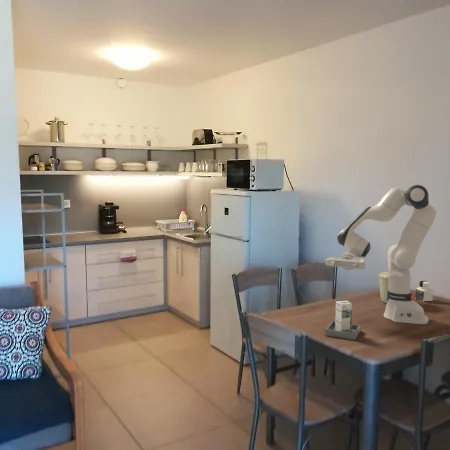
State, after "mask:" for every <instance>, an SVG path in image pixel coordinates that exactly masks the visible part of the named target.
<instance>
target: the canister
mask: <svg viewBox="0 0 450 450" xmlns="http://www.w3.org/2000/svg"><path fill="white" fill-rule="evenodd" d="M377 277H378V280H379V294H380V300H381V302H383V303H385V304H387V291H388V282H389V272H388V271H381V272H380V273H378V274H377Z"/></svg>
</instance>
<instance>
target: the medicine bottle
mask: <svg viewBox="0 0 450 450" xmlns="http://www.w3.org/2000/svg"><path fill="white" fill-rule="evenodd" d="M430 288H431V282H430V281H428V280H420V281H419V285H418V287H415V294H414V300H416V299H418V300H420V301H419V302H421V301H423V302H422V303H425V302H424V301H432V302H433V299H434V298H433V297H434V295H433V294H434V290H433V289H430ZM418 300H417V301H418Z"/></svg>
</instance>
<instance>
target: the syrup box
mask: <svg viewBox="0 0 450 450" xmlns="http://www.w3.org/2000/svg"><path fill="white" fill-rule="evenodd" d="M352 316H353V303H352V302H351V301H349V300H339V301H335V320H334V322H335V330H336V331H343V332H350V333H351V325H352V324H353V323H352V321H353V319H352V318H353V317H352Z"/></svg>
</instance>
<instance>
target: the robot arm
mask: <svg viewBox="0 0 450 450" xmlns="http://www.w3.org/2000/svg"><path fill="white" fill-rule="evenodd" d="M429 200H430V199H429V192H428V189H427V188H426V187H425V186H423V185H421V184H415V185H411V186H410V187H409V188H408V189H407V190H402V189H401V188H399V187H392V188H390V189H389V190H388V191H387V192H386V193H385V194H384V195H383V196H382V198H380V200H379V202H378V203H376V204H375V205H374V206H367V207H366V208H364V210H362V212H360V213H359V214H358V215H357V216H356V217H355V218H354V219H353V220H352V221H351V222H349V224H348V225H347V226H346V227H345V228H343V229H342V230H340V232H338V234H337V236H336V239H337V243H338V244H339V245H341V246H342V247H345V248H346V249H347V250H346V251H345V252H344V253H343V254H342V255H341V256H340V257H332V256H331V257H328V258H326V259H325V266H328V267H335V268H337V267H338V268H342V269H343V270H347V271H348V270H355V269H356V270H366V259H365V258H366V257H367V256H368V254H369V252H370V251H371V242H370V241H368V240H367V239H365V238H364V237H362V236H361V235H359V234H358V233H357V232H356V231H355V229H357V228H358V227H359V226H360V225H361V223H363V222H364V221H366V220H372V221H376V222H383V223H386V222H390V221H392V220H393V218H395V216H397V214H398V213H399V212H400V210H401V209H402V208H403V207H404V206H405V205H406V206H409V207H413V212H412V215H411V216H410V218H409V220H408V221H407V223H406V224H405V227H404V228H403V230H402V231H401V235H400V239H399V240H398V243H396V244H393V245H391V246H390V247H389V248H388V251H387V270H388V272H389V282H388V291H387V303H386V306H385V310H384V313H383V317H384V318H385V319H388V320H391V321H392V322H394V323H401V324H402V323H403V324H405V323H406V324H415V325H426V324H428V323H429V320H430V319H429V317H428V316H427V315H425V311H424V308H423V307H422V305H420V304H419V303H418V302H417V301H415V294H414V293H412V292H411V283H412V282H411V279H412V278H411V273H410V272H411V270H410V268H412V267H413V266H414V265H415V263H416V258H417V256H418V254H419V252H420V251H419V250H420V249H421V246H422V243H423V241H424V239H425V238H426V236H427V234H428V232H429V231H430V229H431V228H432V226H433V224H434V221H435V219H436V216H437V209H435V207H434V206H432V205H431V204H430V202H429Z"/></svg>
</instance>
